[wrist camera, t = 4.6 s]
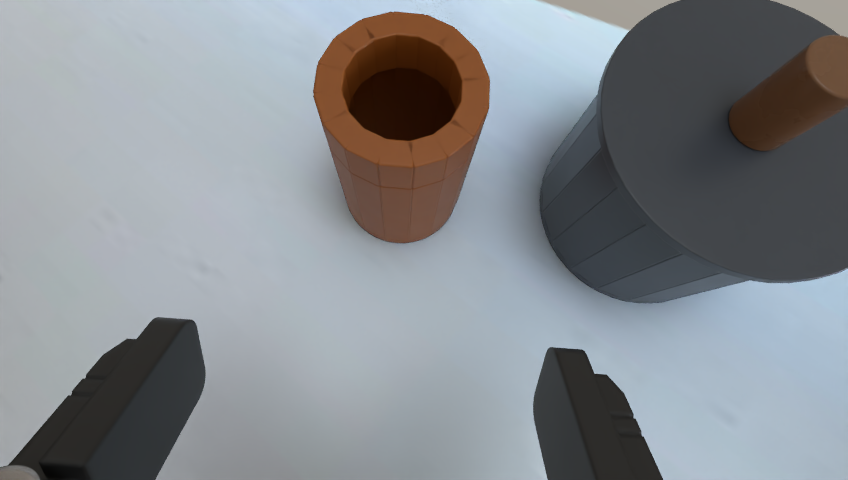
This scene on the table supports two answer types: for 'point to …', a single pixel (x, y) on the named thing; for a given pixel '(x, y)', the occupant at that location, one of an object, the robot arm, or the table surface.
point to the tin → (611, 229)
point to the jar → (401, 120)
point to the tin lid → (733, 136)
